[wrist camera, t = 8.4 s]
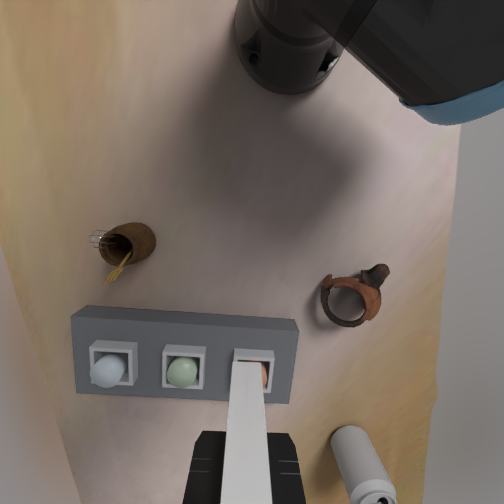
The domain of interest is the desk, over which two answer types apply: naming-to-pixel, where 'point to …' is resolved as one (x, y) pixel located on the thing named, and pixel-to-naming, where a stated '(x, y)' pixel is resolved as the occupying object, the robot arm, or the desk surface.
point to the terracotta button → (263, 368)
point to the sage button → (182, 371)
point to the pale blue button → (108, 370)
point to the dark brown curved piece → (368, 292)
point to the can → (361, 467)
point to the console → (182, 350)
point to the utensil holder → (125, 246)
